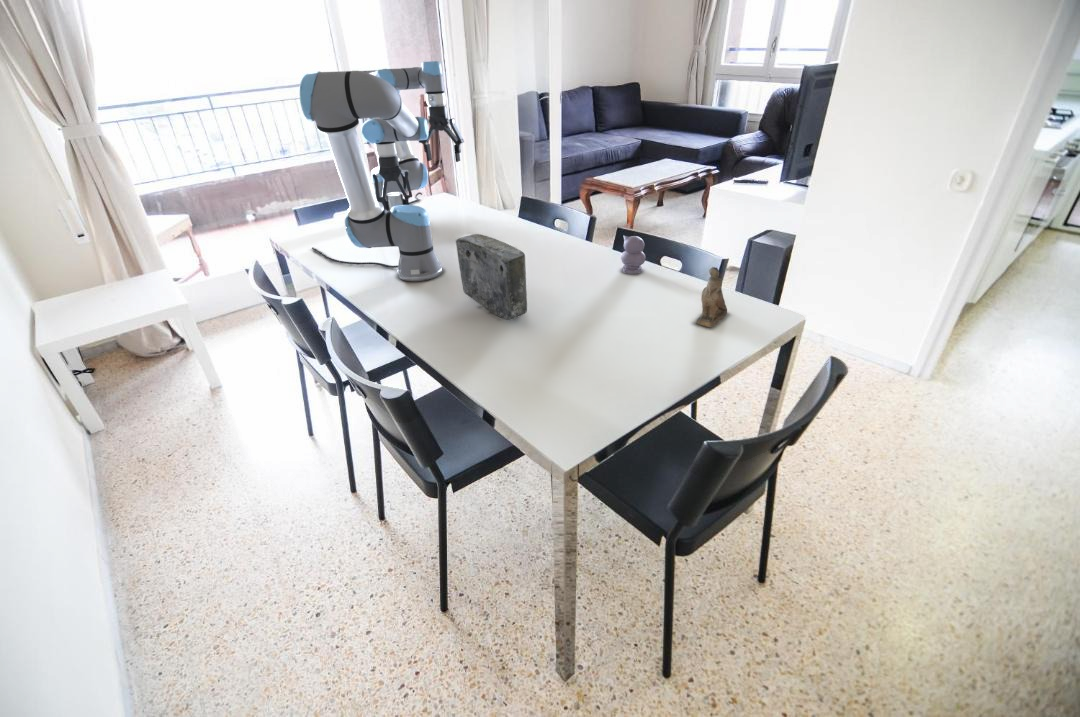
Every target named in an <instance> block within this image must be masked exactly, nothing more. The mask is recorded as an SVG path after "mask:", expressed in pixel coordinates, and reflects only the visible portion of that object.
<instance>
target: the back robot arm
mask: <svg viewBox="0 0 1080 717" xmlns="http://www.w3.org/2000/svg"><path fill="white" fill-rule="evenodd" d="M363 71H364V72H367V73H370V74H373V75H375V76H378V77H380V78H381V79H383V80H385V81H387V82H388V83H389V84H391V85H392V86H393V87H394V88H395V89H396V90H397V91H398V93H399V94H400V91H406V90H419V89H421V90H422V89H423V90H424V92H425V99H426V105H427V113H428V118H426V117H424V118H425V119H426V120H427V124H428V125H430V127H429V128H428V132H429V135H428V138H427V140H420V141H418V143H419V144H422V145H423V150H424V153H425V154H426V161H427V162H430V161H432V160H433V156H432V150H431V143H429V142H430V140H431V138H432V136H433V135H434V133H435V132H442V131H444V133H446V134H447V136H448V137H449V138H450V140H451V141H452V142H453V143H454V145H453V149H454V159H455V163H458V162H460V161H461V155H460V154H461V153H462V148H461V144H463V143H465V139H464V137H463V135H462V134H461V131H460V130H459V128H458V125H457V124H456V119H455V118H454V117H452V118H449V119H448V110H447V106H446V104H447V100H446V94H445V84H444V76H443V70H442V64H441V62H440V61H438V60H435V61H433V60H432V61H422V63H421V67H420V66H414V67H401V68H381V69H374V70H363ZM448 124H449V125H450V126H449V125H448ZM450 127H451V128H450ZM395 144H396V150H397V154H396V155H397V156H398V162H399V167H400V169H401V170H404V171H406V170H407V171H408V180H409V184H410V188H411V192H412V191H419V190H421V189H424V188H426V186H427V185H428V181H429V172H428V168H427V166H426V165H425V164H424V163H423V162H420V161H419V157H417V156H415V155H414V152H413V149H412V146H411V143H410V141H395ZM377 172H379V165H378V166H376V167H374V168H373V169H371V171H370V179H371V183H372V186H373V189H374V193H375V196H376V189H375V180H374V178H373V176H372V174H373V173H377ZM399 180H400V182H401V184H402V186H403V188H404V190H405V192H406V193H407V192H408V189H407V185H406V181H405V176H403V174H402V173H401V174H400V176H399ZM378 184H379V193H380V197H382V193H383V186H384V179H383V177H382V176H381V175H379V178H378ZM392 192H401V190H400V188H399V186H398V184H397V182H396V181H390V182H387V189H386V194H388V193H392ZM401 193H402V192H401ZM419 195H420V196H422V195H423V192H417V193H416V194H415V195H414V199H415V200H412V201H409V205H412V204H414V203H416V202H418V201H419V198H418V196H419ZM376 199H377V198H376ZM385 200H387V198H386V196H385ZM377 201H378V202H380V203H382V201H380V200H377ZM385 211H387V209H386V210H385Z"/></svg>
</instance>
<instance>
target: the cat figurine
mask: <svg viewBox="0 0 1080 717" xmlns="http://www.w3.org/2000/svg"><path fill="white" fill-rule="evenodd" d="M623 249H624V250H623V252H622V253H621V255H620V260H621V262H622V264H623V265H622V273H624V274H628V275H637V274H640V273H642V265H644V264H645V262H646V254H645V253H644V252H643V251H644V249H645V242H644V239H642V238H641V236H637V235H631V236H627V235H624V234H623Z"/></svg>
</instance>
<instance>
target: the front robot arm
mask: <svg viewBox="0 0 1080 717" xmlns="http://www.w3.org/2000/svg"><path fill="white" fill-rule="evenodd" d="M364 71H365V70H342V71H320V70H319V71H316V72H309V73H308V72H307V73H305V74H303V76H302V77H301V79H300V82H299V89H298V90H299V92H298V93H299V103H300V107H301V111H302V114H303V116H304V118H305V119H306V120H307V121H310V122H314V123H315V125H316V129H317V130H318V132H320V133H322V134H324V135H325V138H326V141H327V143H328V146H329V149H330V152H331V155H332V158H333V161H334V163H335V167H336V169H337V173H338V176H339V178H340V181H341V184H342V187H343V190H344V192H345V195H346V199H347V201H348V203H349V204H348V205H349V208H348V209H347V213H346V215H345V218H344V226H345V231H346V234H347V236H348V238H349V240H350V242H351V243H352V244H353V245H354V246H355V247H357V248H363V249H364V248H365V249H372V248H390V247H391V248H392V247H398V251H399V259H398V265H389V264H385V263H381V262H373V261H368V262H366V261H365V262H360V261H359V262H357V261H345V260H339V259H335V258H332V257H330V256H328V255H326V254H325V253H324V252H322V251H321V250H319V249H317V248H315V247H314V246H313V247H311V250H313V251H315V252H317V253H319V254H320V255H322V256H323V257H324V258H326V259H328V260H330V261H333V262H335V263H339V264H347V265H375V266H382V267H385V268H391V269H396V268H397V276H398V278H399V279H400V280H402V281H406V282H413V283H414V282H425V281H429V280H432V279H435V278H438V277H439V276H440V275H441V274H442V273H443V268H442V264H441V263H440V260H439V259H438V256H437V254H436V252H435V250H434V243H433V236H432V230H431V229H432V228H431V221H430V217H429V214H428V210H426V209H425V208H424V207H421V206H419V205H414V204H409V202H410V201H409V200H410V198H412V197H413V192H412V191H411V188H410V184H409V180H408V171H407V170H406V171H404V170H401V169H400V167H399V162H398V156H397V155H396V154H397V150H396V144H395V141H409V142H415V141H416V142H419V141H420V140H427V138H428V135H429V124H427V120H426V119H425V118H426V117H425V116H414V114H413V113H412V112H411V111H410V110H409V109H408V107H407V106H406V105H405V103H403V100H402V96H401V95H400V93H398V91H397V90H396V89H395V88H394V87H393V86H392V85H391V84H389V83H388V82H387V81H385V80H383V79H381V78H380V77H378V76H375V75H373V74H370V73H367V72H364ZM362 119H368V120H366V121H364V122H363V124H362V125H361V128H360V129H361V130H360V131H361V136H362V137H363V139H364V141H366V142H367V143H369V144H373V145H374V148H375V154H376V156H377V157H376V159H377V164H378V166H379V172H377V173H373V174H372V176H373V178H374V180H375V189H376V196H375V193H374V188H373V183H372V178H371V175H370V172H369V170H368V166H367V163H366V159H365V156H364V152H363V149H362V146H361V142H360V139H359V136H358V132H357V127H358V126H359V124H360V120H362ZM401 173H402V174H403V176H405V181H406V185H407V189H408V191H407V192H408V193H407V192H405V190H404V188H403V186H402V184H401V182H400V180H399V176H400V174H401ZM379 175H381V176H382V177H383V179H384V186H383V193H382V197H380V193H379V184H378V178H379ZM390 181H396V182H397V184H398V186H399V188H400V190H401V192H402V195H403V201H404V205H397V206H394V207H392V210H391V211H389V209H388V203H387V200H385V196H386V189H387V182H390ZM376 198H377V199H376ZM377 200H380V201H382V203H380V202H378V201H377ZM386 209H387V211H385V210H386Z"/></svg>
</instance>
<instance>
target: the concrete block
mask: <svg viewBox="0 0 1080 717" xmlns="http://www.w3.org/2000/svg"><path fill="white" fill-rule="evenodd" d="M455 245H456V254H457V259H458V267H459V273H460V280H461V287H462V291H463V293H464V294H465V295H466V296H468V297H469V298H471V299H472V300H473V301H474V302H476V303H477V304H479V305H480V306H482V307H483V308H485V310H487V311H489V312H491V313H492V314H494V315H496V316H497V317H500V318H502V319H503V320H507V321H511V320H514V319H517V318H519V317H521V316H523V315H525V314H526V313H527V312H528V298H527V296H528V293H527V271H526V270H527V269H526V268H527V267H526V254H525V253H524V252H523V251H522V250H521V249H518V248H517V247H515V246H513V245H511V244H508V243H507V242H504V241H501V240H499V239H496V238H493V237H491V236H489V235H485V234H479V233H472V234H468V235H464V236H460V237H458V238H457V239H456V240H455Z"/></svg>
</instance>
